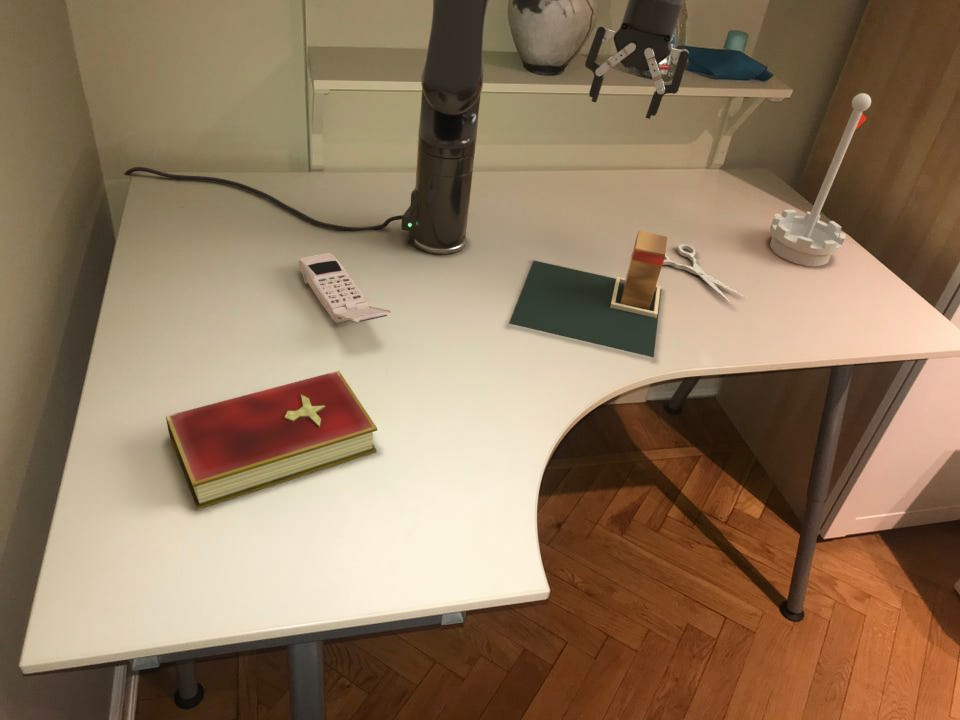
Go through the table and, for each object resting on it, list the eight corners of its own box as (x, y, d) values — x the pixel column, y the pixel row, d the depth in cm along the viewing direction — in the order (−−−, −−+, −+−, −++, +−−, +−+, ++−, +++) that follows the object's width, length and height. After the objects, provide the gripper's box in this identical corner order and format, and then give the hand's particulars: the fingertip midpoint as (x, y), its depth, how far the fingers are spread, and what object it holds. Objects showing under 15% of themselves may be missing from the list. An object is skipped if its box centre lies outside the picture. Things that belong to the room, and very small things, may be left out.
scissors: (680, 239, 142) (763, 293, 129) (679, 242, 142) (761, 297, 130) (638, 249, 137) (719, 307, 124) (637, 253, 137) (718, 311, 125)
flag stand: (812, 276, 138) (884, 113, 119) (751, 244, 145) (810, 86, 127) (847, 257, 145) (919, 101, 127) (787, 228, 152) (848, 76, 134)
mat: (508, 325, 115) (509, 318, 114) (533, 262, 131) (534, 256, 130) (652, 360, 112) (655, 353, 112) (660, 291, 128) (662, 284, 127)
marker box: (619, 305, 122) (635, 247, 116) (623, 286, 127) (638, 230, 121) (648, 311, 122) (665, 254, 115) (651, 292, 126) (667, 236, 120)
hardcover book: (169, 438, 90) (164, 412, 87) (337, 392, 99) (337, 366, 97) (197, 510, 82) (192, 483, 79) (376, 452, 92) (377, 426, 89)
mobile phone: (353, 321, 102) (290, 232, 118) (352, 356, 106) (291, 265, 122) (394, 312, 105) (327, 227, 121) (391, 346, 108) (327, 259, 124)
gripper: (607, -18, 105) (573, 100, 114) (707, 10, 104) (665, 128, 112) (612, -20, 112) (579, 92, 120) (706, 7, 110) (666, 118, 119)
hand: (621, 109), depth 116 cm, fingers open, 8 cm apart
